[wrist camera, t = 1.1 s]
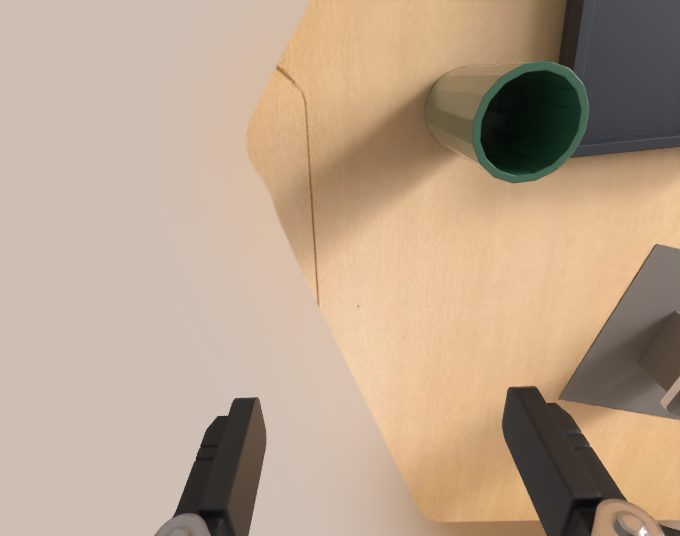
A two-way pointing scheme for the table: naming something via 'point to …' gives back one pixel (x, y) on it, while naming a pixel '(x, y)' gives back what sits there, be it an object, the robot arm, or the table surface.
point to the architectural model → (638, 346)
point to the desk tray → (625, 72)
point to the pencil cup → (510, 117)
